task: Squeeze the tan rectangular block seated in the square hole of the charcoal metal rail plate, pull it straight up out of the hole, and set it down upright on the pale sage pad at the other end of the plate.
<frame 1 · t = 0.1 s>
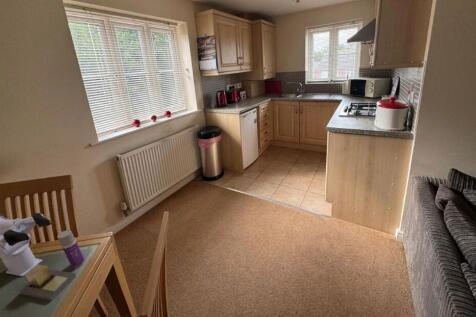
hand: (38, 229, 83), 22 cm above the table, tool horizontal, fingers open, 7 cm apart
rail plate: (49, 285, 87), on the table
tan rectangular block: (43, 283, 87), resting in rail plate
container: (78, 263, 95), on the table
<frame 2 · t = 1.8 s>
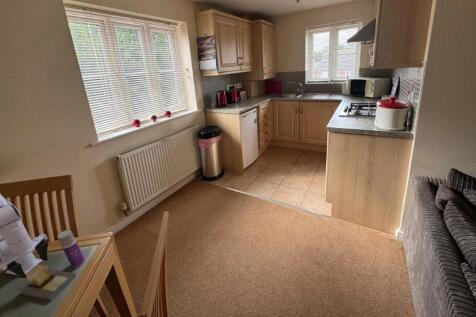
hand: (34, 268, 84), 8 cm above the table, tool pointing down, fingers open, 7 cm apart
nothing on the table moved.
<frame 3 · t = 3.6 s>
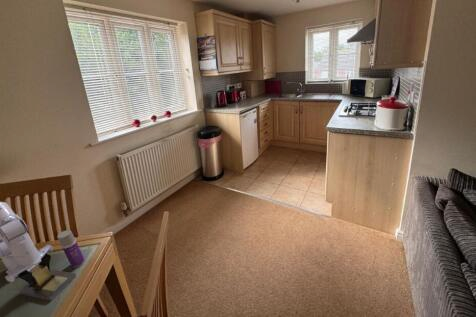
hand: (40, 278, 86), 3 cm above the table, tool pointing down, fingers closed on tan rectangular block, 4 cm apart
tan rectangular block: (43, 283, 87), resting in rail plate, touching gripper
everything else where it was.
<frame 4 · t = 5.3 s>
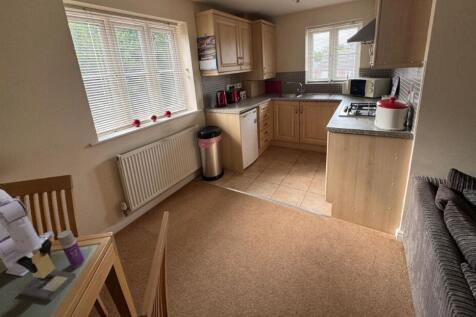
hand: (41, 266, 82), 10 cm above the table, tool pointing down, fingers closed on tan rectangular block, 4 cm apart
tan rectangular block: (44, 272, 84), point 7 cm above the table, touching gripper
everything else where it was.
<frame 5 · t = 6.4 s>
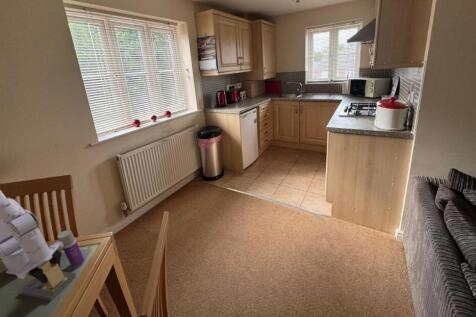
hand: (51, 276, 84), 5 cm above the table, tool pointing down, fingers closed on tan rectangular block, 4 cm apart
tan rectangular block: (54, 282, 85), point 2 cm above the table, touching gripper
everything else where it was.
when the fingers open (5 cm above the table, at t = 7.1 s): tan rectangular block stays where it is, resting on rail plate.
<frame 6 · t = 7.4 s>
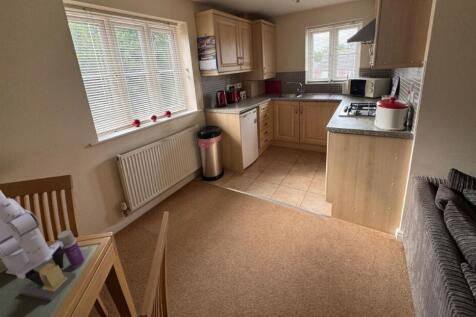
hand: (51, 276, 84), 5 cm above the table, tool pointing down, fingers open, 7 cm apart
tan rectangular block: (55, 283, 85), point 2 cm above the table, touching rail plate
everything else where it was.
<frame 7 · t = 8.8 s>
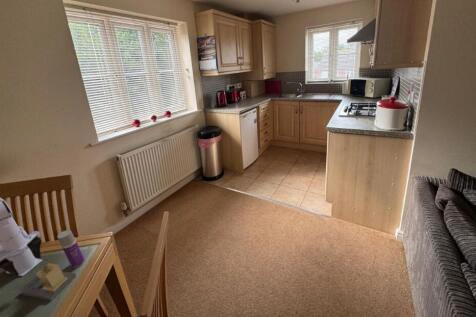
hand: (27, 265, 83), 10 cm above the table, tool pointing down, fingers open, 7 cm apart
nothing on the table moved.
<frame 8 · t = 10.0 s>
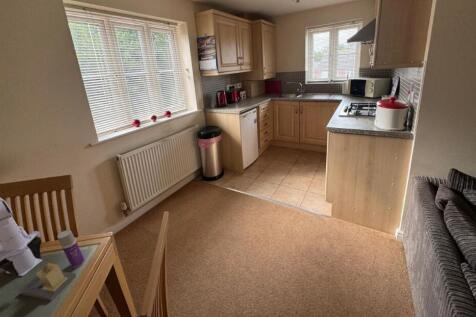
hand: (27, 265, 83), 10 cm above the table, tool pointing down, fingers open, 7 cm apart
nothing on the table moved.
at the end: tan rectangular block 0.0 cm from the target spot on the rail plate, point 1.7 cm above the rail plate's base; tan rectangular block tilted 0°; the gripper is holding nothing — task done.
